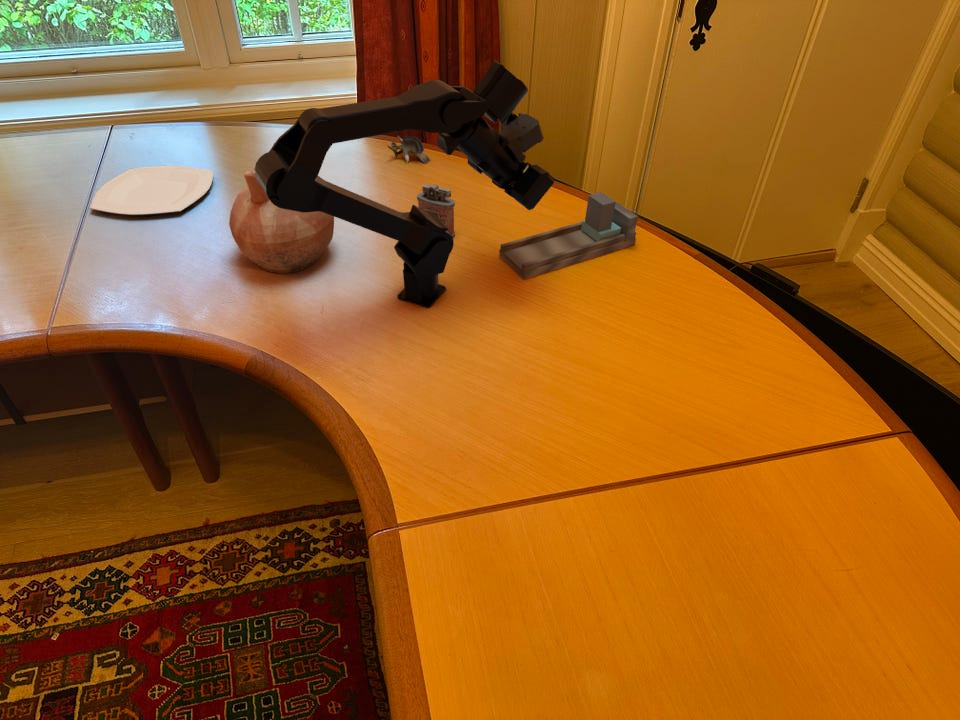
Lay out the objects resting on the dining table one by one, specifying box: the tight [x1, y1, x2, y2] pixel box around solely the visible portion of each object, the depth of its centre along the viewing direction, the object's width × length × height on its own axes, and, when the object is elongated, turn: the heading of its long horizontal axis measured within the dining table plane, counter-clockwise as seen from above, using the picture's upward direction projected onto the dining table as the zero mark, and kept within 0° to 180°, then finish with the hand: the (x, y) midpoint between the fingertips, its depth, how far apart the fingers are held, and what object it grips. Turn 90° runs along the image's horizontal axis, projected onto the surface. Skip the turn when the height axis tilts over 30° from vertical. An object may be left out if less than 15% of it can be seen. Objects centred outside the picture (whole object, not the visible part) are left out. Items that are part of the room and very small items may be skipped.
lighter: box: [416, 183, 456, 239], centre depth 119 cm, size 8×3×10 cm, turn 62°
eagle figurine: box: [387, 135, 431, 164], centre depth 147 cm, size 8×7×9 cm
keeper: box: [581, 191, 621, 241], centre depth 117 cm, size 5×6×8 cm
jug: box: [228, 142, 335, 274], centre depth 108 cm, size 18×18×20 cm
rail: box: [498, 196, 639, 280], centre depth 116 cm, size 26×9×6 cm, turn 119°
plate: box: [89, 165, 214, 216], centre depth 132 cm, size 23×23×2 cm
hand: (534, 196), depth 106 cm, fingers closed
